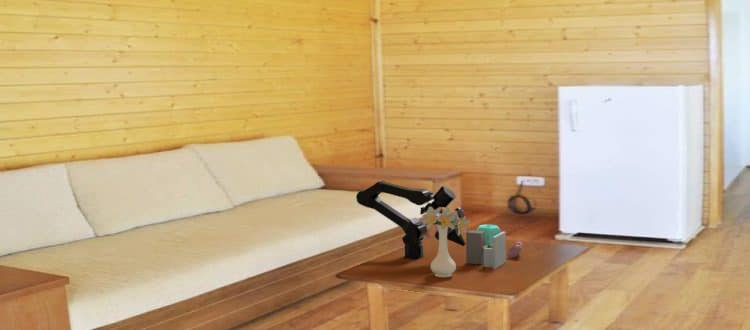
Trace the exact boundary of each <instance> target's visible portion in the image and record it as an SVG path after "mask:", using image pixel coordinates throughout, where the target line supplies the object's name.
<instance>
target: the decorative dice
mask: <svg viewBox="0 0 750 330" xmlns="http://www.w3.org/2000/svg"><path fill="white" fill-rule="evenodd" d="M475 231H485V245H486V246H489V247H488V248H490V245H491V244H492V237H494V236H495V235H497V234H499V233H501V232H502V231H501V229H500V227H499V226H498V225H495V224H481V225H479V226H478V227H477V229H476V230H475Z"/></svg>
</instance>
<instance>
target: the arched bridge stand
mask: <svg viewBox="0 0 750 330" xmlns="http://www.w3.org/2000/svg"><path fill="white" fill-rule="evenodd" d="M506 233H507V232H506V231H501V233H499V234H497V235H495V236H494V237H492V244H491V245H490V247H488V248H484V263H483V267H484V268H491V267H492V270H496V269H498V268H499V267H502V265H504V264H505V263H506V262H507V260H506V259H507V257H506V256H507V247H506V246H507V245H506V244H507V242H506V241H507V236H506V235H507V234H506Z"/></svg>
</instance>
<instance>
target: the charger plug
mask: <svg viewBox="0 0 750 330" xmlns="http://www.w3.org/2000/svg"><path fill="white" fill-rule="evenodd" d="M465 236H466V237H465V239H466V240H465V243H466V245H465V246H466V247H465V250H466V252H465V255H466V256H465V259H466V261H465V263H466V264H472V265H473V264H474V265H484V248H489V247H488V246H486V245H485V231H476V230H473V229H471V230H468V231H467V232H466V233H465Z"/></svg>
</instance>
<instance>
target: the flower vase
mask: <svg viewBox="0 0 750 330" xmlns="http://www.w3.org/2000/svg"><path fill="white" fill-rule="evenodd" d="M455 209H456V208H455V207H454V209H453V212H451V209H450V207H449V206H447V207H446V208H445V209H443V211H442V214H441V213H439V212H440V211H441V207H439V208H437V209H436V210H434V209H433V208H432V207H429V208H428V210H427V212H426V213H425V214H422V218H423V219H422V221H421V222H422V223H423V224H424V225H426V224H427V225H426V227H427V230H429V229H430V228H431V226H432V225H434V224H433V223H436V222H437V223H438V224H437V225H436V227H437V231H438V232H439V240H438V252H437V255H436V257H435V258H434V259H433V260H432V261H431V263H430V267H429V268H430V270H431V271H432V272H433V273H434V276H435V277H437V278H450V277H452V275H453V273H454V272H455V271H456V269H457V263H456V262H455V261H454V260H453V259H452V257H451V256H450V253H449V250H448V249H449V248H448V239H447V231H448V227H450V228H452V229H454V225H453V224H455V225H458V226H457V227H458V236H459V235H460V234H461V235H462V233H463V234H466V232H468V231H467V226H468V225H469V224H470V223H471V219H467V216H466V215H464V217H462V218H459V217H458V213H457V211H455ZM460 219H462V220H460ZM466 219H467V220H466ZM436 220H437V221H436ZM440 222H441V223H440ZM452 223H453V224H452Z"/></svg>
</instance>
